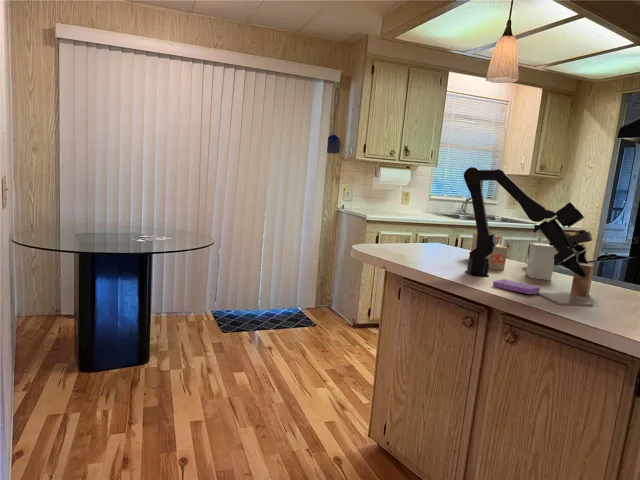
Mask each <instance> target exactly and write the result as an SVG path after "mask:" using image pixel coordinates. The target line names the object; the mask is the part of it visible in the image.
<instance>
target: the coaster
mask: <svg viewBox="0 0 640 480" xmlns="http://www.w3.org/2000/svg"><path fill="white" fill-rule="evenodd" d="M535 295H537V296H540V297H541V298H543V299H545V300H548V301H550V302H552V303H554V304H557V305H558V306H576V307H577V306H579V307H585V306H586V307H593V306H594V305H593V303H592V302H589V301H586V300H584V299H581V298H579V297H577V296H574V295H572V294H571V293H564V292H559V293H558V292H541V291H540V292H538V293H535Z"/></svg>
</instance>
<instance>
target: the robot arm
mask: <svg viewBox="0 0 640 480" xmlns="http://www.w3.org/2000/svg"><path fill="white" fill-rule="evenodd" d="M463 179H464V181H465V184H466V187H467V189H468V191H469V193H470V197H471V204H472V209H473V215H474V219H475V225H476V232H477V248H475V249H474V250H473V251H469V256H468V260H467V261H468V263H467V267H466V270H464V273H467V274H469V275H471V276H476V277H489V270H490V269H489V263H488V261H489V259H487V258H486V257H487V256H488V255H490V254H491V253H492V252H493V251H494V250H495V248H496V245H497V242H496V240H495V236H496V233H495V232H494V233H492V232H491V230H490V227H489V223H488V222H489V221H488V216H487V210H486V205H485V199H484V193H483V187H484V181H495V182H497V183H498V184H499V186H500V187H502V188H503V189H504V190H505V191H506V192H507V193H508V194H509V195H510V196H511V197H512V198H513V199H514V200H515V201H516V202H517V203H518V204H519V205H520V207H521V208H522V210H523V211H524V213H525V214H526V215H527V217H528V219H529V220H530V221H532V222H535V223H540V224H534V225H533V226H534V227H533V230H532V231H533V233H535V234H536V233H539V232H541V234H542V235H543V236H544V237H545V239H546V240H547V241H548V242H549V243H548V244H549V245H550V246H553V247H554V248H555V250H556V252H557V253H555V255H554V263H556V265H558V264H559V266H562V267H564V268H565V269H567V270H569V271H571V272H572V273H573V274H574V273H576V274H578V275H580V276H581V277H585V276H586V274H585V272H584V270H583V269H582V267H581V265H580V264H579V262H580V263H585V264H589V262H588V260H587V258H586V256H587V251H588V250H587V247H586V246H585V244H584V243H587V242H588V243H589V242H591V241H593V238H592V233H591V232H590V231H587V230H586V229H582V230H579V231H578V233H577V234H574V235H572V234H570V233H568V232H565V230H564V229H563V228H565V227H567V228H571V227H572V226H574V225H575V224H577V223H579V222H580V221H582V220H583V219H584V218H585V216H584V215H583V214H582V213H581V212H580V210H578V208H576V207H575V205H574V204H573V203H572V202H571V201H570V202H567V203H565V205H564V206H562V207H561V208H560V209H558V210H557V211H554V210H549V209H547V208H546V207H545V206H544V205H543V204H541V203H539V202H538V201H536V200H535V199H533V198H532V197H530V196H529V195H528V194H527V193H525V191H524V190H522V188H520V186H518V184H516V182H514V181H513V180H512V179H511V178H510V177H509V176H508V175H507V174H506V173H505V171H504V170H502V169H499V168H498V169H480V168H477V167H473V166H472V167H469V168H468V167H467V169H466V170H465V171H464V172H463ZM545 219H550V220H549V221H547V220H545ZM557 221H558V222H559V223H560V224H559V223H558V222H557Z"/></svg>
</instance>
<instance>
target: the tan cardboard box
mask: <svg viewBox="0 0 640 480" xmlns="http://www.w3.org/2000/svg"><path fill="white" fill-rule="evenodd" d="M472 233H473V234H472V240H471V241H472V242H471V251H473V250H474V249H475V248H477V231H473V232H472ZM499 238H500V237H499V236H498V235H495V240H496V242H497V245H496V248H495V250H494V251H493V252H492V253H491V254H490V255H488V256H487V257H486V258H487V259H489V261H488V263H489V269H488V270H500V271H505V265H506V260H507V256H508V255H507V254H508V248H509V247H508V246H507V247H506V246H505V245H502V244H499V240H500V239H499ZM471 251H470V252H471Z"/></svg>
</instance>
